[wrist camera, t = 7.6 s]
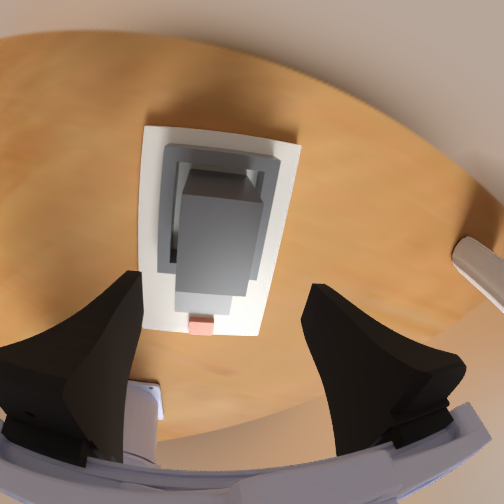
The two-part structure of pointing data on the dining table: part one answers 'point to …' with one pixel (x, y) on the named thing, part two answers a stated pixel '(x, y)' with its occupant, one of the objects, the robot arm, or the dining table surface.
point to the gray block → (217, 233)
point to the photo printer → (481, 269)
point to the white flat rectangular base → (168, 214)
